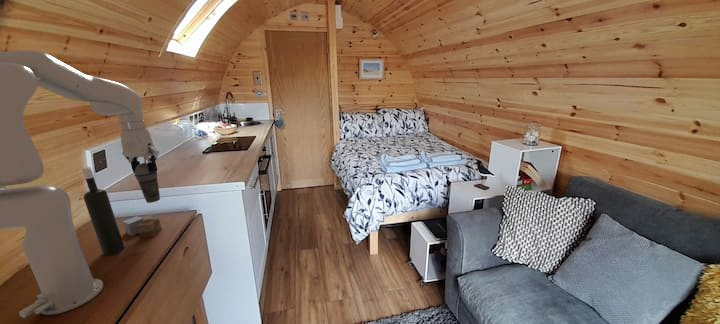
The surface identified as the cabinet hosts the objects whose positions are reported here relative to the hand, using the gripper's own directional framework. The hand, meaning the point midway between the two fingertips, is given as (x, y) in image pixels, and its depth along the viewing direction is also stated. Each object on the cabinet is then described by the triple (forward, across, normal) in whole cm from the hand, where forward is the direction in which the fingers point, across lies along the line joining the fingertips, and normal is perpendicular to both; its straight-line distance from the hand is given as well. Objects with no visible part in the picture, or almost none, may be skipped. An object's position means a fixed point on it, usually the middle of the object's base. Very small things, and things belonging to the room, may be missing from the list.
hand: (145, 171), depth 115 cm
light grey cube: (+22, -3, -7) cm, 24 cm away
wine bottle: (+22, +2, -20) cm, 30 cm away
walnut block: (+22, +5, -8) cm, 24 cm away
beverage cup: (+12, 0, 0) cm, 12 cm away
